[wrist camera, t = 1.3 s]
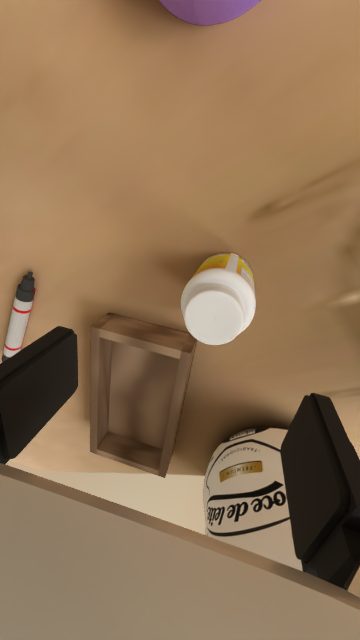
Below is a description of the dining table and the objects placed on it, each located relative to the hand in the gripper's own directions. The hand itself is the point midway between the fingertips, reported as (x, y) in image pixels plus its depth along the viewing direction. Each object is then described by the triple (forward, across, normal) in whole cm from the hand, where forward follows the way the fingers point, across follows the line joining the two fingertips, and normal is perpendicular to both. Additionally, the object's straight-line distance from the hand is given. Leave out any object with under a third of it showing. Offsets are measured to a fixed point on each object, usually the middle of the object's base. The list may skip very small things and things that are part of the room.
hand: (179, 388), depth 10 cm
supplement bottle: (+18, -1, 0) cm, 18 cm away
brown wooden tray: (+18, +6, +17) cm, 25 cm away
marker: (+19, +24, +11) cm, 32 cm away
